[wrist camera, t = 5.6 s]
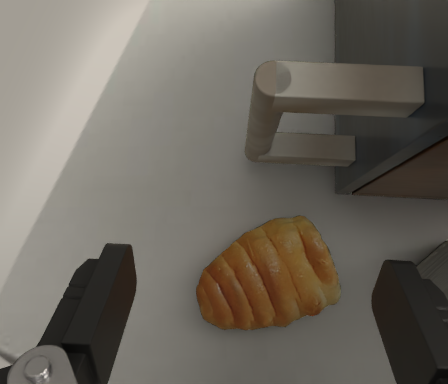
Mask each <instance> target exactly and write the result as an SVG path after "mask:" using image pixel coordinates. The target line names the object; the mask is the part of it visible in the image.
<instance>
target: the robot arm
mask: <svg viewBox="0 0 448 384" xmlns="http://www.w3.org/2000/svg"><path fill="white" fill-rule="evenodd" d="M136 284H137V278H136V271H135V264H134V257H133V250H132V246H131V245H130V244H113V243H107V244H106V245H105V247H104V249H103V251H102V253H101V255H100V257H99V259H88V260H87V261H85V262H84V263H83V264H82V265H81V266H80V267H79V268H78V269H77V270H76V271H75V273H74V275H73V277H72V279H71V281H70V283H69V287H67V289H66V291H65V293H64V295H63V299H61V301H60V303H59V304H58V306H57V308H56V310H55V312H54V314H53V316H52V318H51V320H50V322H49V324H48V326H47V328H46V330H45V332H44V334H43V336H42V338H41V340H40V342H39V343H38V345H37V346H36V347H35V348H33V349H31V350H29V351H27V352H26V353H24V354H23V355H22V356H20V357H19V358H18V359H17V360H16V361H15V363H14V364H13V365H11V366H8V367H5V368H2V369H0V384H108V381H109V377H110V374H111V371H112V368H113V365H114V361H115V358H116V355H117V352H118V348H119V345H120V342H121V339H122V336H123V332H124V329H125V326H126V323H127V320H128V316H129V313H130V310H131V307H132V303H133V300H134V297H135V293H136ZM371 302H372V310H373V314H374V317H375V320H376V323H377V326H378V329H379V332H380V335H381V338H382V341H383V344H384V347H385V350H386V353H387V356H388V359H389V362H390V365H391V368H392V371H393V374H394V377H395V380H396V383H397V384H448V300H447V298H446V296H445V294H444V292H442V291H441V290H440V289H439V288H438V287H437V286H436V285H435V284H434V283H433V282H432V281H431V280H430V279H422V278H421V276H420V274H419V272H418V270H417V268H416V266H415V264H414V263H413V262H411V261H399V260H385V261H384V263H383V265H382V268H381V270H380V273H379V276H378V279H377V281H376V284H375V287H374V289H373V292H372V300H371Z"/></svg>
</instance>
